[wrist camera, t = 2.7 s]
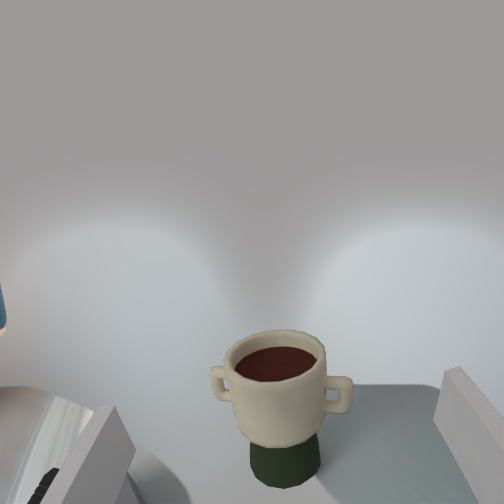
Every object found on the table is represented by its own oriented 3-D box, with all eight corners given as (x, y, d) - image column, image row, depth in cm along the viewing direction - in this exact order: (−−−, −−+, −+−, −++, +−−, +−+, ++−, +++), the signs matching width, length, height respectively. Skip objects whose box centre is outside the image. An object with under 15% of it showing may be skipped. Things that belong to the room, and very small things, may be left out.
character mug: (350, 443, 26) (358, 330, 23) (338, 502, 20) (349, 392, 16) (244, 432, 30) (223, 324, 27) (216, 482, 23) (179, 373, 20)
